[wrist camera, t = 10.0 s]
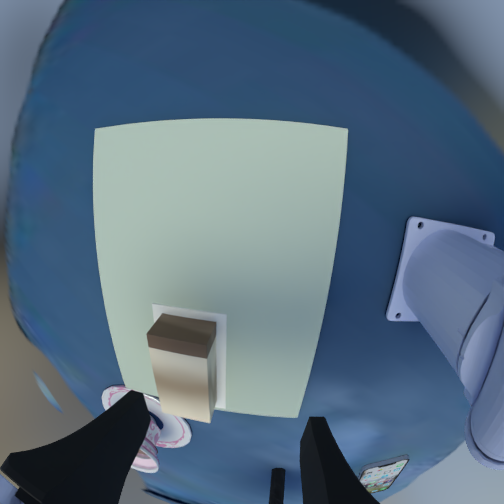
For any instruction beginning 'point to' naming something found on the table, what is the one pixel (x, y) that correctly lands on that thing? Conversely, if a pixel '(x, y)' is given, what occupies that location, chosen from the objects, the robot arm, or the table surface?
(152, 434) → the teacup
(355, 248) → the table surface
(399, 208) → the table surface
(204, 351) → the brown-topped white block
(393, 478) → the smartphone
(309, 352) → the mat
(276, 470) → the solar garden light
